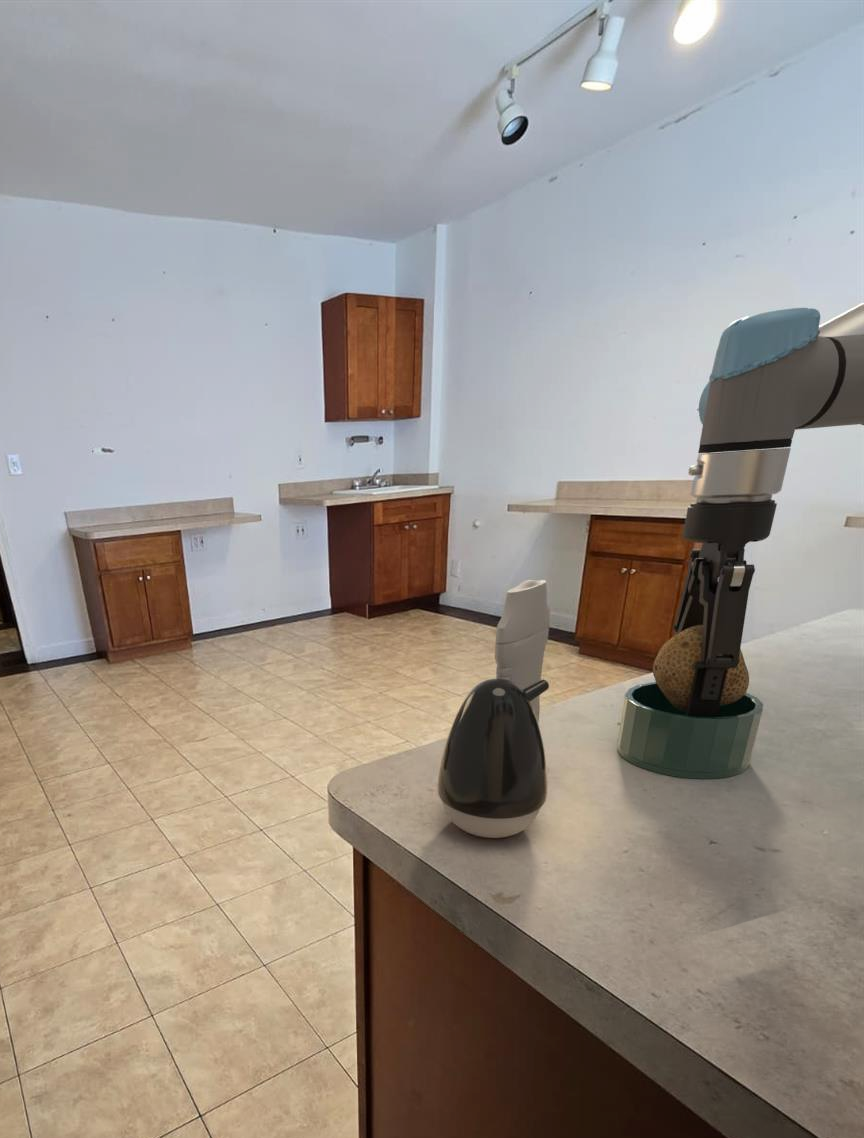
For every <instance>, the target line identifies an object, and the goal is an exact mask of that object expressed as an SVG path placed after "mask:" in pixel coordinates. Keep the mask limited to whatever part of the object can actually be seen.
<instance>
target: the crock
mask: <svg viewBox="0 0 864 1138" xmlns="http://www.w3.org/2000/svg"><path fill="white" fill-rule="evenodd" d="M622 705H623V706H622V711H621V718H620V724H619V731H618V737H617V746H616V747H617V752H618V754H619V756H621V758H623V759H624V760H625V761H626V762H628V763H630V764H632V765H634V766H636V767H639V768H641V769H644V770H647V771H649V772H654V773H657V774H660V775H665V776H671V777H676V778H683V779H685V778H686V779H695V780H697V779H698V780H711V779H713V780H714V779H725V778H729V777H733V776H736V775H737V776H738V775H740V774H741V773H743V772H744V771H746V770H747V769H748V767H749V763H750V761H751V758H752V753H753V748H754V745H755V741H756V737H757V734H758V729H759V726H760V722H761V718H762V714H763V711H764V710H763V709H764V703H763V702H762V701H761V700H760V699H759V698H758V697H757V696H755V695H753V694H750V693H749V692H746V693H745V694H744V695H743V696H742V697H741V698H740V699H739V700H737V701H735V702H733V703H731V704H727V705H722V706H719V710H718V714H717V717H694V716H686V713H684V712H681V711H680V710H678V709H677V708H676V707H675V706H673V705H672V704H671V703H670V702H669V700H668V699H667V698H666V696H665V695H664V694H663V692H662V691H661V689H660V688H659V686H658V685H657V683H656V681H652V682H651V681H650V682H646V683H640V684H637V685H634V686H631V687H630V688H628V690H627V691H626V692H625V693H624V699H623V704H622Z"/></svg>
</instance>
